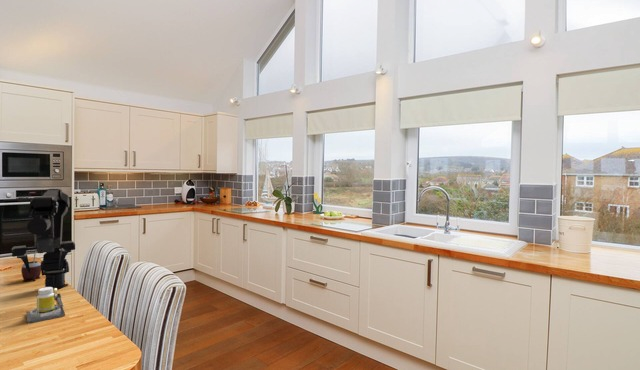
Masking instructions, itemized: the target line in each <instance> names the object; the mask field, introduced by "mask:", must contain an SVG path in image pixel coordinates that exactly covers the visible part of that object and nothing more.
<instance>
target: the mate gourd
mask: <svg viewBox="0 0 640 370" xmlns="http://www.w3.org/2000/svg"><path fill="white" fill-rule="evenodd" d="M36 256H37V252H33V261H31V260H30V261H28V262H29V267H30V273H28V270H27V268H26V266H25V264H24V263H23V264H22V266H21V277H22V278H23V280H22V282H23V283H25V282H30V281H31V282H36V280H39V279H41V277H40V276H41V274H42V272H41V262H39V261H38V260H36Z"/></svg>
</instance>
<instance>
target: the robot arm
mask: <svg viewBox="0 0 640 370" xmlns="http://www.w3.org/2000/svg"><path fill="white" fill-rule="evenodd" d="M70 204H71V203H70V198H69V195H68V194H67V193H65V192H63V190H62V189H61V188H48V189H46V190H45V192H44V193H43V195H41V196H33V198H32V199H30V201H29V207H28V212H27V217H32V219H31V220H29V221H28V222H27V225H26V229H27V231H28V232H29V233H30V234H32V235H34V246H28V247H27V246H26V245H17V246H16V245H15V246H12V248H11V257H16V258H17V259H20V260H22V262H23V264H25V266H26V268H27V270H28V273H30V267H29V262H30V261H29V259H28V258H29V257H28V253H34V252H36V253H38V254H43V257H42V261H41V262H40V264H41V276H45V278H44V287H43V288H45V287H53V288H57V290H60V289H62V288H64V287H68V286H69V284H68V283H65V281H66V274H67V273H69V272H70V265H69V262H68V260H67V259H66V257H67V255H68V253H69V254H70V253H71V252H72V251H75V250H76V243H75V242H74V240H67V241H66V240H65V241H62V240H63V221H64V217H65V216H66V214H67V213H68V211H69V210H68V209H69V208H70Z"/></svg>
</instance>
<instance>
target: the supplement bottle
mask: <svg viewBox="0 0 640 370" xmlns="http://www.w3.org/2000/svg"><path fill="white" fill-rule="evenodd" d="M44 287H45V286H44ZM44 287H42V288H38V293H37V294H38V295H37V296H36V305H37V306H36V308H37V313H39V314H41V313H46V312H51V311H54V305H55V300H54V293H52V292H53V287H45V288H44Z"/></svg>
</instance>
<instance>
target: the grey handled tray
mask: <svg viewBox="0 0 640 370" xmlns="http://www.w3.org/2000/svg"><path fill="white" fill-rule="evenodd" d="M52 293H54V301H56V300H57V303H58V304H54V311H51V312H46V313H41V314H39V313H37V307H35V308H33V309H31V310H30V311H26V313H25V314H26V322H27V324H33V323H37V322H38V323H39V322H42V321H47V320H51V319H52V320H53V319H57V318H62V317H65V316H66V313H65V310H64V303H63V301H62V296H61V293H58V289H57V288H53V292H52Z"/></svg>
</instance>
